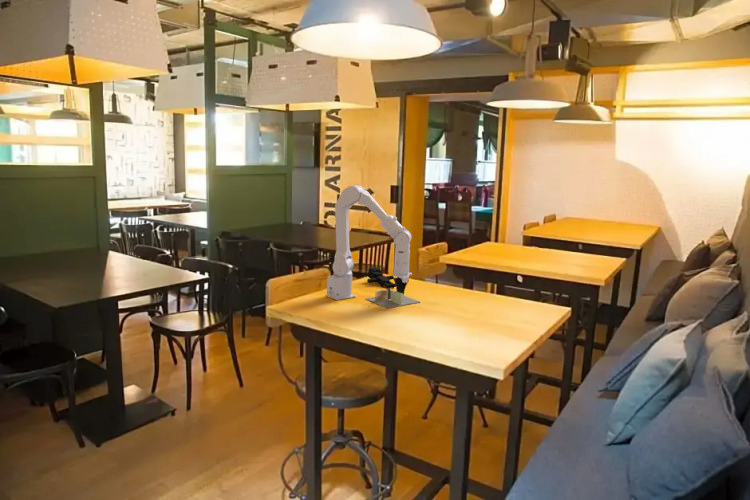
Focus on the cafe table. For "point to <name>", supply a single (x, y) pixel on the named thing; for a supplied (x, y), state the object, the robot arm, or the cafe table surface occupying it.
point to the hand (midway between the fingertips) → (400, 296)
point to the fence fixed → (382, 294)
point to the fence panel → (396, 296)
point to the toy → (379, 277)
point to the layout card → (393, 302)
